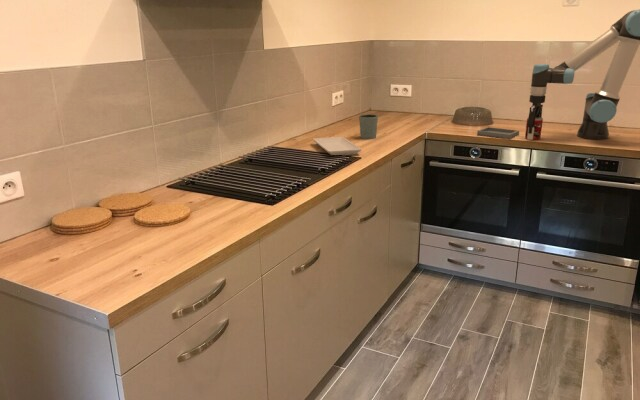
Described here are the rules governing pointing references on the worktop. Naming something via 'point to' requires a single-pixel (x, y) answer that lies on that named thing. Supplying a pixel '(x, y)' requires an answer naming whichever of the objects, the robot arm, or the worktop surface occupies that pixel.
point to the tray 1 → (337, 146)
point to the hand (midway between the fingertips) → (532, 138)
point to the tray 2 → (498, 133)
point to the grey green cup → (368, 126)
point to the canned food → (535, 128)
